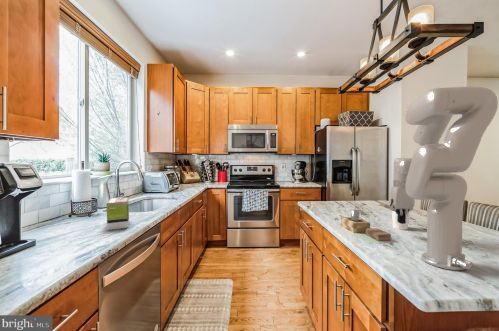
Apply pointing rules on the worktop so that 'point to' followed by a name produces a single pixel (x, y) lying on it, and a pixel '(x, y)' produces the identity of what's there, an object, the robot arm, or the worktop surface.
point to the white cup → (397, 224)
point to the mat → (371, 239)
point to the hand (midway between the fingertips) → (401, 222)
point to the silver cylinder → (355, 215)
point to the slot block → (355, 225)
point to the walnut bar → (378, 234)
